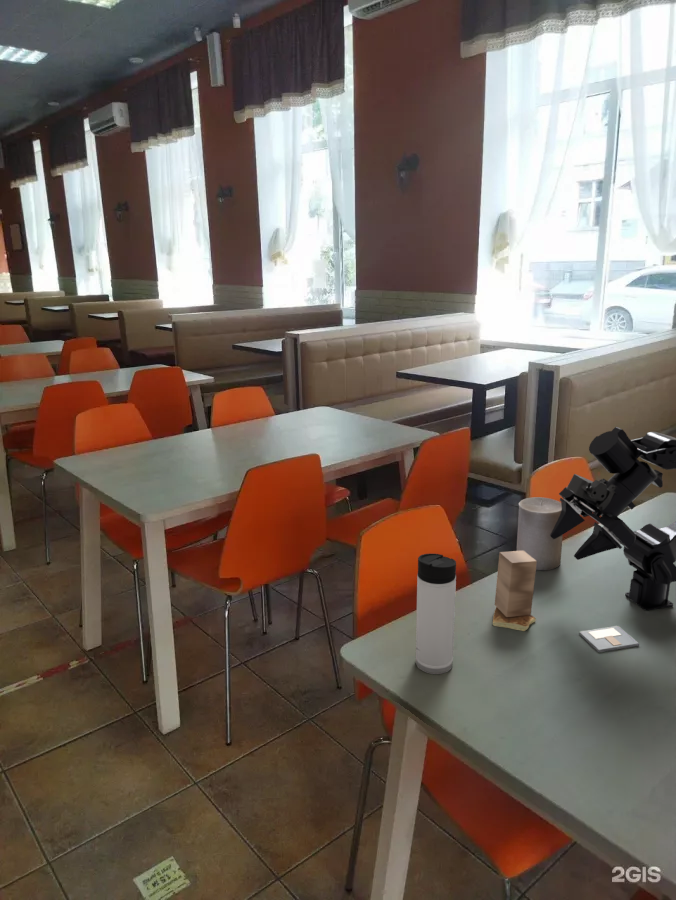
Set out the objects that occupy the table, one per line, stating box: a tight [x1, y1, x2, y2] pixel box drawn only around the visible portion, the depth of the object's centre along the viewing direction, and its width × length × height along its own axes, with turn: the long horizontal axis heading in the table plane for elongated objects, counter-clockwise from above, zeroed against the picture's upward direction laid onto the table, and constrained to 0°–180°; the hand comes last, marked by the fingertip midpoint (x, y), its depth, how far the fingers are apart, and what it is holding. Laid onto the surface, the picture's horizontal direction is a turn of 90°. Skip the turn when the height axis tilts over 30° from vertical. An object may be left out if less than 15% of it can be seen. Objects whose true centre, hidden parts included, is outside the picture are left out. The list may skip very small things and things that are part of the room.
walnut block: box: [494, 550, 537, 617], centre depth 126 cm, size 5×5×11 cm
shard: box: [492, 606, 537, 632], centre depth 128 cm, size 11×8×2 cm
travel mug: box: [415, 553, 457, 675], centre depth 110 cm, size 6×7×20 cm
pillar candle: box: [516, 496, 564, 571], centre depth 148 cm, size 10×10×15 cm
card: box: [578, 625, 640, 653], centre depth 119 cm, size 8×6×1 cm
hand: (563, 547), depth 125 cm, fingers open, 9 cm apart
